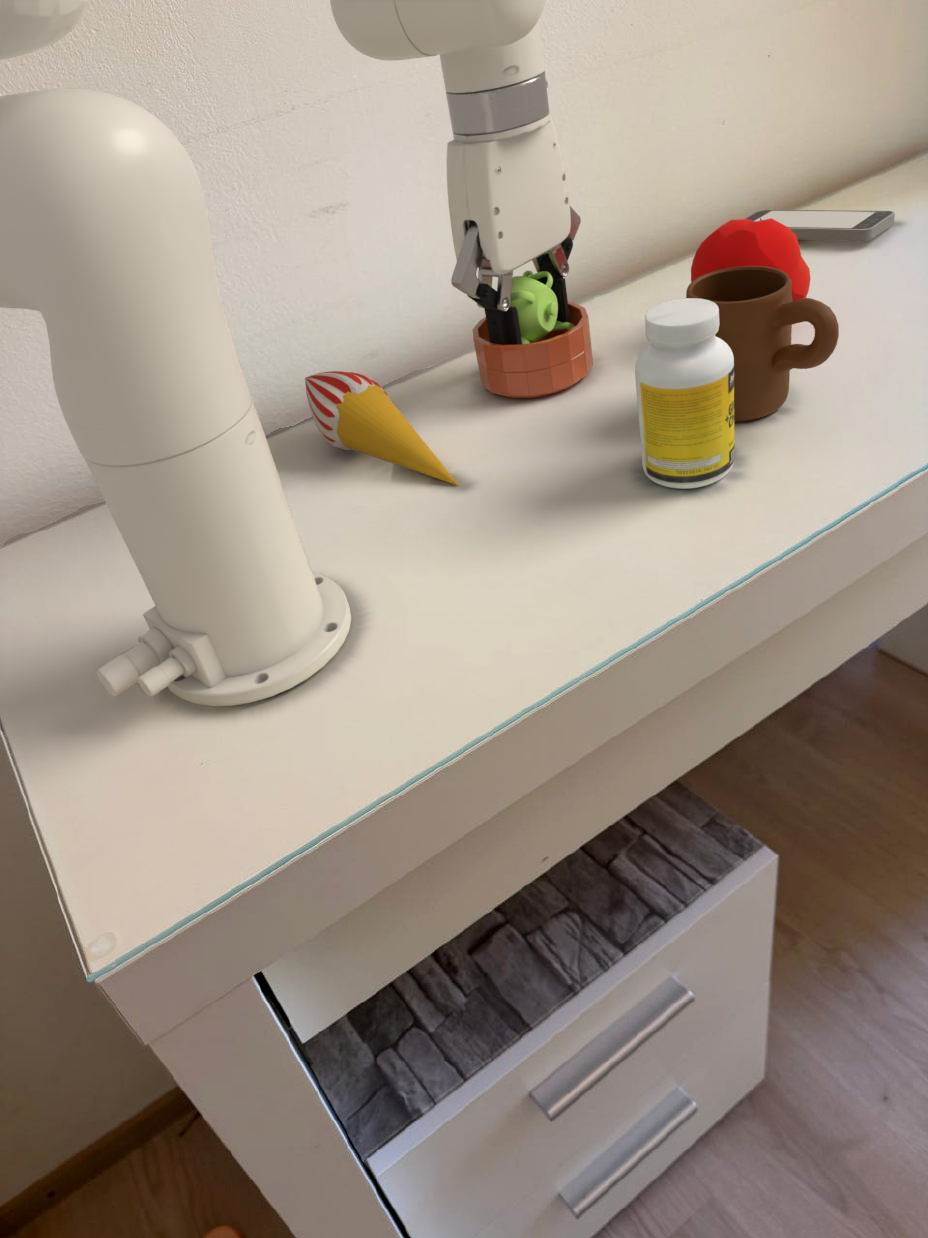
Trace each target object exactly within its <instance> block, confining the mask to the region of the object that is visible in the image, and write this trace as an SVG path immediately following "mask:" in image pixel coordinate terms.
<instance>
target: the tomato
mask: <svg viewBox="0 0 928 1238" xmlns="http://www.w3.org/2000/svg"><path fill="white" fill-rule="evenodd" d="M742 266H763V267H770V268H775V269H779V270H781V271H783V272H785V273H786V274H788V275H789V277H790V279H791V291H792V301H796V300H799V299H803V298H808V297H807V296H808V294H809V292H810V285H811V271H810V267H809V266H808V264H807V262H806V261H805V259H804V258H803V256H802V252H801V248H800V243H799V239H797V235H796V234H794V233H793V232H792V231H791V230H790V229H789V228H788V227H787V226H785V225H783V224H781V223H779V222H778V221H776V220H774V219H772V218H771V219H766V220H761V218H760V221H756V222H755V221H752V220H748V219H745V218H742V219H730V220H728V221H727V222H725V223H723V224H722V225H720V226H719V227H718V228H716V230H714V231H713V232H711V233H710V234H709V235H708V236H707V237H706V238H705V239H704V240H703V241H702V242H701V243H700V245H699V246H698V247H697V249H696V251H695V254H694V256H693V259H692V263H691V266H690V283H691V282H692V281H694V280H695V279H697V278H698V277H700V276H703V275H705V274H707V273H710V272H714V271H717V270H721V269H726V268H732V267H742Z"/></svg>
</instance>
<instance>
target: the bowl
mask: <svg viewBox="0 0 928 1238" xmlns="http://www.w3.org/2000/svg"><path fill="white" fill-rule="evenodd" d="M568 309H569V317H570V321H569V323H571V324H573V325H575V327H574V328H572V329H570V330H566V329H565V330H557V331H553V332H549V333H548V334H547V335H546V336H544V337H543V338H541V339H540V340H538V341H536V342H534V343H528V344H523V345H500V344H495V343H490V339H489V333H488V327H487V321H486V316H485V317H483V318H481V319H479V321H478V322H477V323H476V324H475V325H474V327H473V328H472V339H473V344H474V350H475V356H476V361H477V366H478V372H479V377H480V378H479V379H480V384H481V386H482V387H483V388H485V389H486V390H488V392H490V393H492V394H497V395H499V396H502V397H506V398H513V399H531V398H532V399H533V398H540V397H544V396H546V397H547V396H550V395H554V394H556V393H560V392H562V391H565V390H567V389H569V388H571V387H572V386H574V385H575V384H577V383H578V382H579V381H581V380H582V379H583V378H585V377H586V376H588V375H589V373H590V371H591V370H592V368H593V366H594V361H593V360H594V359H593V349H592V341H591V340H592V338H591V329H590V320H589V314H588V312H587V309H586V307H584V306H582V305H580V304H578V303H576V302H573V301H568Z"/></svg>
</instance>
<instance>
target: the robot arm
mask: <svg viewBox="0 0 928 1238" xmlns="http://www.w3.org/2000/svg"><path fill="white" fill-rule="evenodd" d="M546 1H547V0H329V3H330V9H331V13H332V16H333V19H334V22H335V24H336V27H337V28H338V30H339V32H340V34H341V35H342V37H343V38H344V40H345V41H346V42H347V43H348V44H349V45H350V46H351V47H352V48H353V49H354V50H356V51H357V52H358V53H361V54H362V55H364V56H367V57H369V58H372V59H375V60H378V61H390V62H391V61H404V60H405V61H406V60H413V59H420V58H421V59H422V58H430V57H437V56H438V55H439V60H440V65H441V71H442V78H443V83H444V89H445V96H446V102H447V107H448V113H449V119H450V125H451V130H452V137H453V139H452V140H450V141H448V142H447V144H446V189H447V200H448V201H447V202H448V211H449V220H450V228H451V236H452V242H453V250H454V253H455V254H454V255H455V259H456V264H455V267H454V270H453V272H452V275H451V279H450V283H451V286H453V288H455V289H457V290H459V291H460V292H461V293H463V294H465V295H466V296H467V297H468V298H469V299H471V300H472V301H474V302H475V303H476V305H477V307H478V308H481V309H483V310H484V315H485V317H486V321H487V327H488V333H489V339H490V343H495V344H500V345H522V339H521V333H520V326H519V319H518V312H517V309H516V307H512V306H510V304H511V291H512V279H513V277H514V271H516V270H518V269H519V268H521V267H522V266H524V265H526V264H529V263H530V262H532V263H533V265H534V266H533V267H534V268H535V270H536V273H538V272H541V271H547V272H549V273H550V274H551V276H552V278H553V284H552V286H551V288H550V289H551V290H552V291H553V292H554V293H555V295H556V298H557V302H558V314H557V320H556V321H559V322H562V323H564V322H569V321H570V317H569V309H568V302H569V299H568V293H567V283H566V282H567V281H566V278H565V277H567V276H568V275H569V272H570V266H569V265H570V264H569V259H570V256H571V253H572V250H573V247H574V241H575V238H576V236H577V233H578V231H579V228H580V225H581V222H582V221H581V220H582V219H581V216H580V215H579V214H578V212H576V211H575V209H574V208H573V207H572V206H571V204H570V196H569V195H570V194H569V188H568V181H567V174H566V169H565V164H564V159H563V158H564V157H563V153H562V149H561V144H560V139H559V135H558V132H557V128H556V125H555V122H554V119H553V115H552V114H551V113H550V105H549V95H548V85H549V84H548V79H547V77H546V71H545V70H546V69H545V61H544V60H545V59H544V52H543V42H542V35H541V34H542V33H541V24H540V18H541V16H542V13H543V12H544V8H545V5H546ZM88 3H89V0H0V61H4V60H8V59H13V58H17V57H21V56H24V55H28V54H32V53H34V52H37V51H39V50H42V49H44V48H46V47H49V46H50V47H51V46H52V45H54V44H55V43H58V42H59V41H60V40H62V39H63V38H64V37H66V36H67V35H68V34H69V33H70V32H72V31H73V30H74V29H75V28H76V27H77V25H78V24H79V22H80V20H81V18H82V16H83V15H84V13H85V11H86V8H87V7H88ZM170 129H171V128H169V127H168V126H167V125H166V124H165V123H164V122H162V121H161V120H160V119H159V118H158V117H156V116H155V115H154V114H152V113H151V111H148V110H147V109H146V108H144V107H142V106H140V105H138V103H137V104H136V103H135V102H133V101H131V100H129V99H126V98H124V97H121V96H118V95H116V94H112V93H109V92H105V91H100V90H92V89H87V88H79V87H78V88H53V89H52V88H50V89H40V90H33V91H26V92H21V93H20V92H19V93H12V94H6V95H2V93H1V92H0V308H5V309H21V310H31V311H36V312H40V314H41V316H42V318H43V321H44V323H45V326H46V331H47V336H48V343H49V352H50V353H49V355H50V366H51V373H52V380H53V385H54V390H55V394H56V397H57V398H56V399H57V401H58V405H59V407H60V410H61V413H62V416H63V419H64V420H65V422H66V423H65V424H66V425H67V427H68V429H69V431H70V434H71V437H72V438H73V440H74V442H75V444H76V446H77V449H78V450H79V453H80V455H81V457H82V458H83V459H84V461H85V463H86V465H87V467H88V469H89V471H90V473H91V475H92V477H93V479H94V481H95V484H96V486H97V488H98V490H99V491H100V494H101V496H102V498H103V500H104V502H105V504H106V506H107V509H108V510H109V512H110V514H111V517H112V519H113V521H114V523H115V525H116V527H117V529H118V531H119V533H120V535H121V538H122V540H123V541H124V544H125V546H126V548H127V549H128V552H129V554H130V556H131V558H132V560H133V562H134V565H135V566H136V569H137V570H138V573H139V574H140V577H141V579H142V581H143V583H144V585H145V587H146V589H147V591H148V593H149V596H150V597H151V599H152V602H153V604H154V606H153V607H152V608H149V609H148V610H146V611H145V612H143V613H142V616H143V618H144V620H145V622H146V624H147V626H148V628H149V629H148V630H147V631H146V632H144V633H143V634H141V635H139V636H138V644H136V645H135V646H134V647H131V649H129V650H127V651H126V652H124V653H121V654H119V655H118V656H116V657H114V658H113V659H112V660H109V661H108V662H106V663H105V664H104V665H102V666H101V667H100V668H98V669H96V670H95V675H96V677H97V679H98V681H99V682H100V683H101V685H102V686H103V688H104V689H105V690H106V691H107V692H108V693H109V694H110V695H111V696H112V697H113V698H117V697H118V696H119V695H121V694H122V693H124V692H125V691H127V690H128V689H130V688H131V687H133V686H134V685H135V684H138V685H139V687H140V688H141V689H142V691H143V692H144V694H146V695H147V696H148V697H149V698H153V697H154V696H156V695H157V694H159V693H160V692H161V691H163V690H165V689H166V688H167V689H168V690H169V691H170V692H171V693H172V694H173V695H175V696H176V697H178V698H180V699H182V700H183V701H187V702H188V703H189V702H190V703H193V704H196V705H202V706H211V707H229V706H238V705H245V704H250V703H255V702H258V701H262V700H265V699H268V698H271V697H274V696H276V695H279V694H281V693H284V692H286V691H289V690H290V689H293V688H294V687H296V686H298V685H300V684H301V683H303V682H305V681H307V680H308V679H310V678H311V677H312V676H313V675H315V674H316V673H317V672H319V671H320V670H321V669H323V668H324V667H325V666H326V665H327V664H328V663H329V662H330V661H331V659H332V658H334V657H335V656H336V655H337V653H338V652H339V650H340V649H341V647H342V646H343V645H344V643H345V641H346V639H347V637H348V634H349V632H350V629H351V624H352V623H351V622H352V613H351V608H350V604H349V601H348V599H347V596H346V593H345V591H344V590H343V589H342V588H341V586H340V585H339V584H338V583H337V582H335V581H334V580H332V578H330V577H328V576H325V575H323V574H321V573H318V572H315V571H312V568H311V564H310V561H309V559H308V556H307V553H306V550H305V547H304V544H303V542H302V539H301V536H300V532H299V530H298V527H297V524H296V521H295V518H294V516H293V512H292V509H291V506H290V504H289V501H288V498H287V495H286V492H285V489H284V487H283V484H282V480H281V478H280V475H279V472H278V469H277V467H276V463H275V460H274V457H273V454H272V452H271V449H270V446H269V443H268V440H267V438H266V434H265V431H264V429H263V425H262V423H261V422H262V421H261V419H260V416H259V414H258V411H257V408H256V404H255V401H254V399H253V396H252V393H251V392H250V389H249V386H248V382H247V380H246V377H245V374H244V372H243V371H244V370H243V368H242V366H241V362H240V359H239V356H238V353H237V349H236V346H235V343H234V340H233V337H232V333H231V330H230V327H229V322H228V319H227V316H226V313H225V308H224V307H225V306H224V303H223V299H222V294H221V290H220V286H219V279H218V273H217V267H216V261H215V254H214V245H213V238H212V231H211V230H212V229H211V223H210V218H209V211H208V206H207V202H206V197H205V194H204V189H203V185H202V183H201V180H200V177H199V174H198V172H197V169H196V167H195V164H194V163H193V161H192V159H191V157H190V155H189V154H188V152H187V150H186V149H185V147H184V146H183V144H182V143H181V142H180V140H179V139H178V138H177V136H176V135H175V134H174V133H173V132H172V131H171V130H170ZM477 273H478V275H477ZM493 277H495V278H497V286H496V287H497V288H496V289H495V288H494V287H493ZM547 280H548V277H542V278H540V279H537V281H539V282H541V283H543V284H544V285H546V283H547Z"/></svg>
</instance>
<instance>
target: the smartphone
mask: <svg viewBox="0 0 928 1238" xmlns="http://www.w3.org/2000/svg"><path fill="white" fill-rule="evenodd" d="M895 215H896V211H894V210H866V209H865V210H862V209H861V210H858V209H857V210H855V209H854V210H852V209H850V210H849V209H846V210H845V209H760V210H757V211H756V212H754V213H752V214H750V215H749V216H746V217H745V218H744V219H748V220H752V221H755V222H756V221H760V218H761V220H766V219H771V218H772V219H774V220H776V221H778V222H779V223H781V224H783V225H785V226H787V227H788V228H789V229H790V230H791V231H792V232H793V233H794V234H796V235H797V240H805V241H807V240H810V241H812V240H813V241H841V242H842V241H843V242H844V241H845V242H847V241H848V242H866V241H871V240H872V239H874V238H876V237H877V236H879V235H880V234H881V233H883V232H884V231H886V230H887V229H888V228H890V227H891V226H893V225H894V224H895V217H896V216H895Z"/></svg>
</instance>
